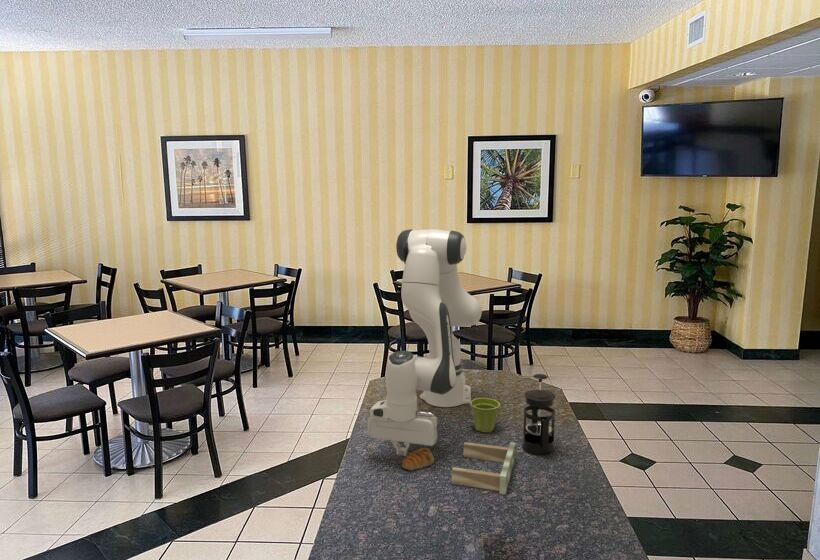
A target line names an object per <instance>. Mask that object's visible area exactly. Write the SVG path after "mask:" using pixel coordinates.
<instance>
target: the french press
mask: <svg viewBox="0 0 820 560" xmlns="http://www.w3.org/2000/svg"><path fill="white" fill-rule="evenodd" d="M532 377H533V378H534V379H537V380H538V382H539V389H531V390H527V391H526V392H524V395H523V396H524V398H525V403H526V404H527V405H528V406H525V407H524V409H523V430H522V431H523V434H522V437H523V438H522V450H523V451H524V452H525V453H527V454H529V455H532V456H538V457H539V456H541V457H542V456H544V457H545V456H549V455H551V454H553V453H554V451H555V446H554V445H555V422H556V421H555V420H556V419H555V417H556V411H555V409H554V408H552V406H554V403H555V399H556V395H555V393H554V392H552V391H549V390H544V389H542V387H541V386H542V382H543V380H546V379H548V378H549V376H548V375H547V374H544V373H535V374H533V376H532ZM541 410H542V411H546V412H548V413H549V412H550V413H551V414H550V415H547V416H546V415H545V416H541ZM528 411H531V414H530V413H527V412H528ZM527 419H528V420H531V422H530V423H527ZM550 421H551V425H550ZM536 443H537V444H536ZM538 443H539V444H538Z"/></svg>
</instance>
